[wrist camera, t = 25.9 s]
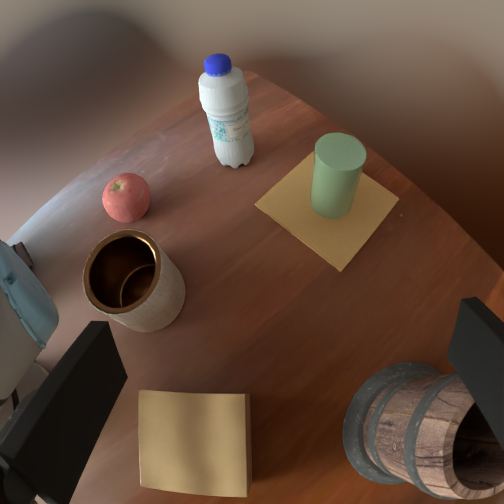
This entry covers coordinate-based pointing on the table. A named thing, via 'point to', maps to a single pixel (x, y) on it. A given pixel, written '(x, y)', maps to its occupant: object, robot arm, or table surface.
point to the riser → (195, 442)
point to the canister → (336, 174)
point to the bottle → (227, 110)
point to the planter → (133, 281)
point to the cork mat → (324, 229)
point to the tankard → (422, 434)
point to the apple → (126, 197)
